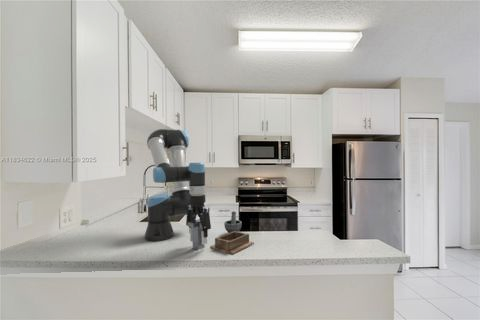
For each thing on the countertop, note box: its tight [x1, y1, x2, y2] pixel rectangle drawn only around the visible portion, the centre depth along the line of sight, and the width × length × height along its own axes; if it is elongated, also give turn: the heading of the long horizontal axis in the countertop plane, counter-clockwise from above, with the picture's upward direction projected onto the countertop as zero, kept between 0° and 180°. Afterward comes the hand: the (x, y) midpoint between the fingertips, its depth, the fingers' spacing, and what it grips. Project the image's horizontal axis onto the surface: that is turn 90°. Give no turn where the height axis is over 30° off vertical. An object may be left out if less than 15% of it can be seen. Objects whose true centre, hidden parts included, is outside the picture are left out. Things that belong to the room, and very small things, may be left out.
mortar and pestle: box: [223, 211, 243, 234], centre depth 136 cm, size 11×9×12 cm
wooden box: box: [210, 231, 255, 255], centre depth 116 cm, size 14×16×5 cm
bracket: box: [187, 218, 206, 251], centre depth 115 cm, size 4×9×13 cm, turn 142°
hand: (198, 242), depth 115 cm, fingers open, 8 cm apart
